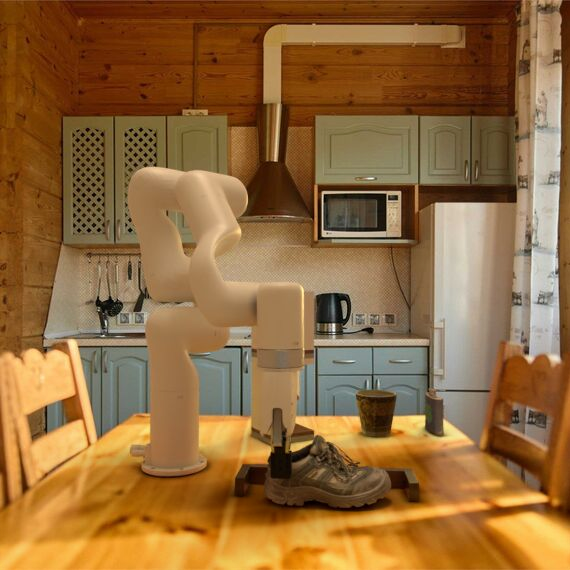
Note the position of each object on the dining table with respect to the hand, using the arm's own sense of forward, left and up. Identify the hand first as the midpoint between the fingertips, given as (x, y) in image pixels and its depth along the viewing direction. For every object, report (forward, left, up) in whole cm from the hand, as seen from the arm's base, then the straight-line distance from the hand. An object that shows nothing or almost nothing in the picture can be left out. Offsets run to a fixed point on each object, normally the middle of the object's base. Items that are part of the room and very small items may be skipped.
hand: (281, 476), depth 85 cm
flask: (+33, +54, -6) cm, 63 cm away
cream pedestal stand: (-4, +45, -6) cm, 46 cm away
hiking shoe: (+7, +5, -5) cm, 10 cm away
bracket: (+7, +10, -5) cm, 13 cm away
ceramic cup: (+18, +49, -6) cm, 52 cm away
